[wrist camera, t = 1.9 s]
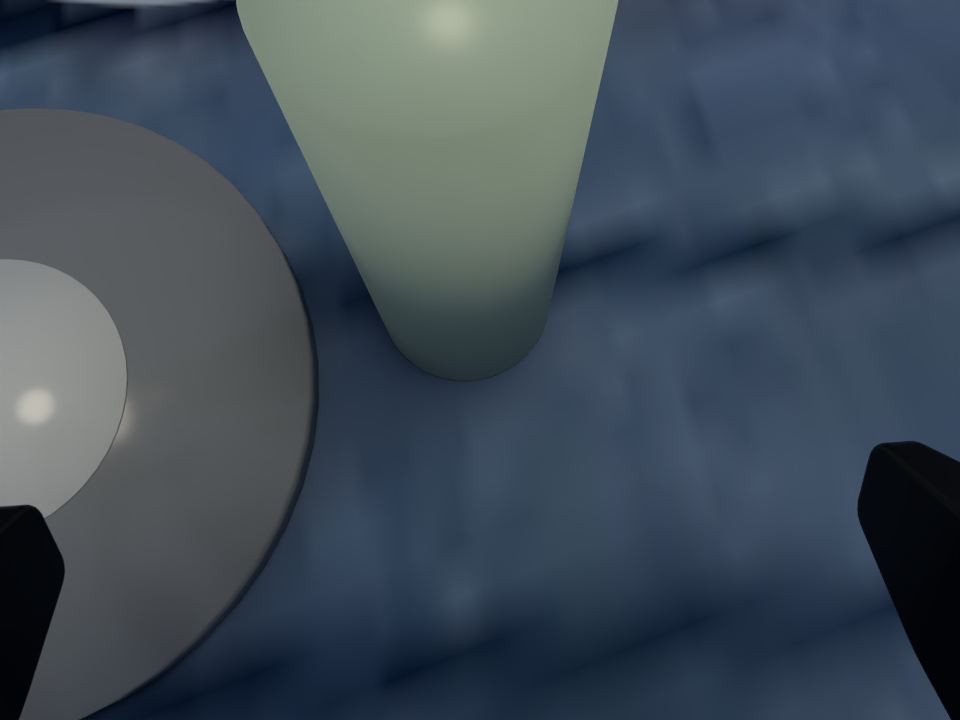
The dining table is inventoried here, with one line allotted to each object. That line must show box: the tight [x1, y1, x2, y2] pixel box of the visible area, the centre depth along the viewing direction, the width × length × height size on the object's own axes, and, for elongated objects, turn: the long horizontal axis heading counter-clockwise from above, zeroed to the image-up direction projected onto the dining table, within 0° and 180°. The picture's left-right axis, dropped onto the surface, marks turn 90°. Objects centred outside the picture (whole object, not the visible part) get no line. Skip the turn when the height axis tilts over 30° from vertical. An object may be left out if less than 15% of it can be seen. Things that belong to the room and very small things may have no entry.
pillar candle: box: [236, 0, 618, 381], centre depth 15 cm, size 5×5×14 cm
